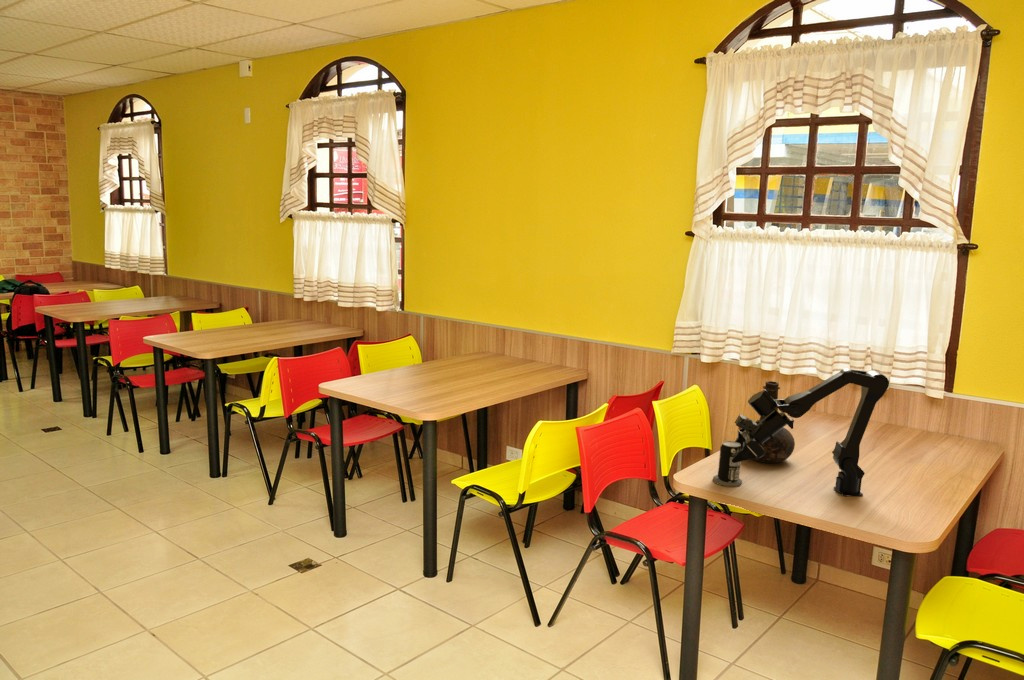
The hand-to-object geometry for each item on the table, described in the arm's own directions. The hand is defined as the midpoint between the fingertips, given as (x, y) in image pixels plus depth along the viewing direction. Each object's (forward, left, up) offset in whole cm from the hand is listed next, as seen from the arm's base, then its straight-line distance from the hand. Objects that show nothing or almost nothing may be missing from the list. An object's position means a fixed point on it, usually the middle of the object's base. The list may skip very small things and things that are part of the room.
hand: (730, 457), depth 246 cm
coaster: (0, 0, -8) cm, 8 cm away
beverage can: (0, 0, -8) cm, 8 cm away
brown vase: (-23, -23, -9) cm, 33 cm away
